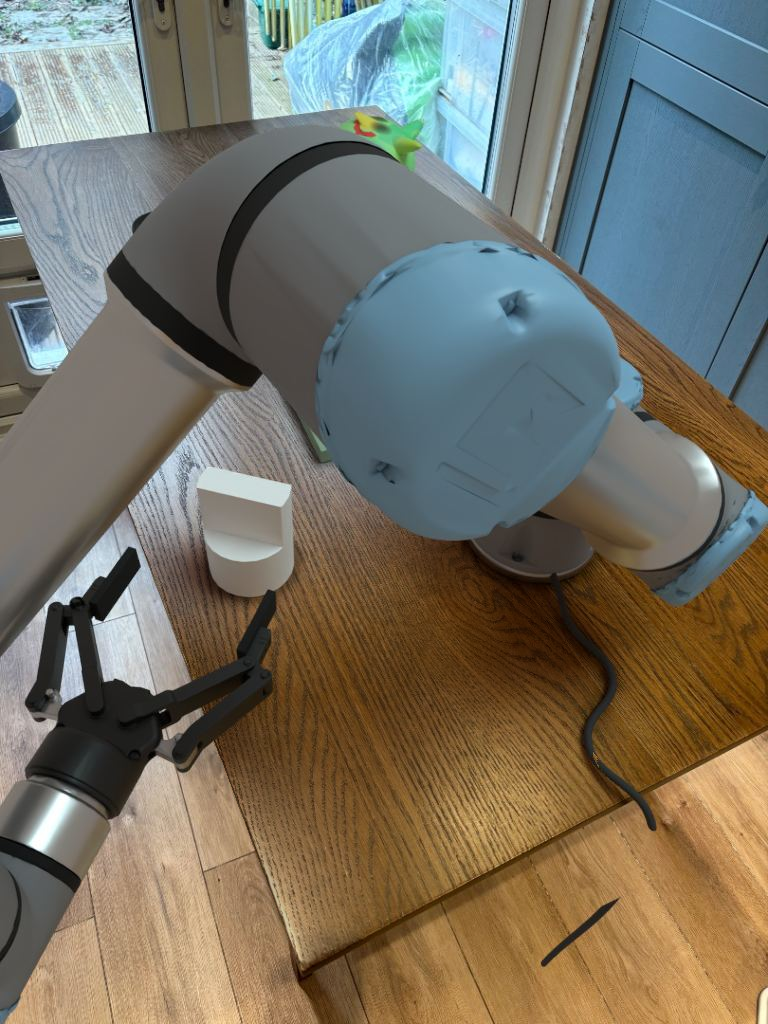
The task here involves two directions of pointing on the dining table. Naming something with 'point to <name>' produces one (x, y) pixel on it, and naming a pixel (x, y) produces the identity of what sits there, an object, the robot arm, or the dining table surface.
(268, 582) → the base with upright slab
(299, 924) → the dining table surface
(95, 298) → the dining table surface
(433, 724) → the dining table surface
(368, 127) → the toy bird
